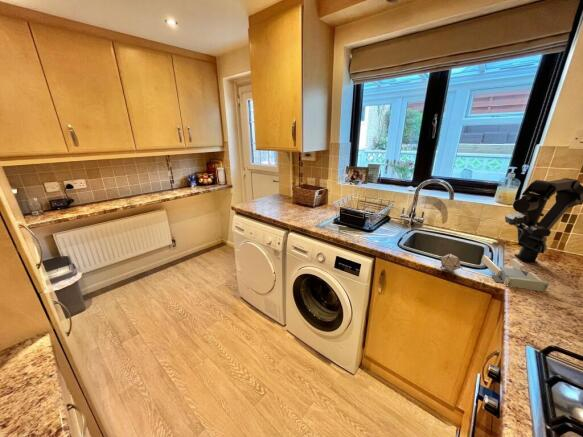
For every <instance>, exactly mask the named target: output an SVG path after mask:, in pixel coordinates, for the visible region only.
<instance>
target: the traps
mask: <svg viewBox="0 0 583 437" xmlns="http://www.w3.org/2000/svg"><path fill="white" fill-rule="evenodd" d="M522 272H523V274H524V275H525V276H526V277H527V274H528V272H529V271H525V270H522ZM491 275H492V278H493V279H494V280H495V281H496V282H495V281H494V280H493V279H492V278H491V279H492V280H493V281H494V282H495V283H498V282H502V283H501V284H504V282H503V281H502V280H501V278H500V277H499V276H497V275H495V274H491Z"/></svg>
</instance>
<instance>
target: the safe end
mask: <svg viewBox="0 0 583 437" xmlns="http://www.w3.org/2000/svg"><path fill="white" fill-rule="evenodd" d="M508 280H509V282H508V283H511V284H510V285H509V284H507V281H508ZM507 281H506V285H508V286H512V287H511V288H516V287H518V288H517V289H523V288H526V289H525V290H531V291H539V292H544V291H543V289H544V290H545V289H546V290H547V288H548V287H547V288H543V287H545V286H544V285H548V286H549V285H550V283H549V281H546V280H542V281H540V280H532V279H524V278H516V277H509V276H508V278H507ZM506 285H505V286H506ZM508 286H507V287H508ZM546 290H545V291H546Z"/></svg>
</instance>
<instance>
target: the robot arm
mask: <svg viewBox="0 0 583 437" xmlns="http://www.w3.org/2000/svg"><path fill="white" fill-rule="evenodd" d="M555 194H556V195H555ZM553 195H555V203H554V204H553V205H552V207H551V208H550V209H549V210H548V211H547V213H543V211H544V209H545V206H546V204H547V203H548V200H549V201H550V200H551V198H552V196H553ZM582 201H583V185H582V184H581V182H580V180H578V179H574V178H568V177H563V178H561V179H555V180H550V181H548V180H543V179H542V180H541V179H535V180H534V181H532V182H531V183H530V184H529V185H528V186H527V187H526V189H525V190H524V191H523V192H522V193H521V198H518V199H515V200H514V201H513V203H512V208H513V210H514V211H516V212H513V213H509V214H505V215H504V217H505V218H504V219H505V220H504V222H505V223H507V224H508V225H511V226H514V227H516V230H517V241H518V242H517V246H520V250H519V252H518V254H514V256H515V258H517V259H519V260H520V261H521V262H524V263H533V264H538V263H539V262H538V261H537V258H538V255H539V254H544V253H545V251H547V249H548V247H547V241H548V237H550V235H551V234H552V231H551V229H552V228H553V227H554V225H555V224H556V223H557V222H558V221H560V219H561V218H562V217H563V215H564V214H565V213H566V212H567V210H569V209H570V208H573V207H576V206H578V205H579V204H580V203H581V202H582ZM540 217H542V218H541V220H540ZM539 220H540V221H539Z"/></svg>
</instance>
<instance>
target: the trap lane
mask: <svg viewBox="0 0 583 437" xmlns="http://www.w3.org/2000/svg"><path fill="white" fill-rule="evenodd" d="M481 262H482V263H483V264H484V265H485V266H486V267H487V268H488V269H489V270H490V271H491V272H492V274H494V273H495V274H496V275H497V276H498V277H499V276H500V275H501V273H502V270H501V269H500V267H499V266H498V265H497V264H495V263H494V262H493V261H492V260H491V259H490V257H488V256H487V255H484V254H483V255H482V258H481ZM509 265H511V266H512V268H513V269H516V270H521V271H523V269H524V266H525V265H523V263H521V262H520V261H519V260H518V259H516V258H512V259H511V260H510V263H509ZM527 272H528V274H527V276H526V277H527V279H532V280H540V281H543V280H542V279H541V278H540V277H538V276H537V274H534V273H533V272H532V271H527ZM495 274H494V275H495ZM507 278H508V277H506V279H505V281H504V283H505V284H506V281H507ZM508 282H509V280H508V281H507V284H509V285H510V284H511V283H508ZM504 283H503V284H504ZM505 284H504V285H505ZM544 286H545V287H543V288H548V286H549V285H544ZM546 290H547V289H545V290H544V289H543V291H542V292H546Z"/></svg>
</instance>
